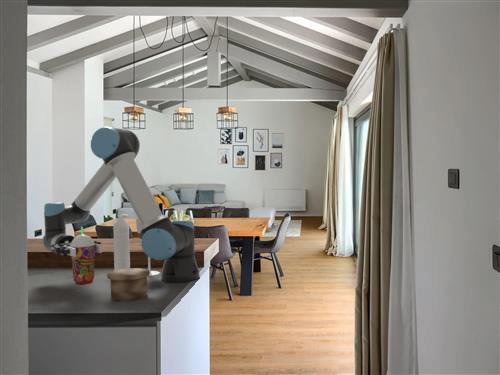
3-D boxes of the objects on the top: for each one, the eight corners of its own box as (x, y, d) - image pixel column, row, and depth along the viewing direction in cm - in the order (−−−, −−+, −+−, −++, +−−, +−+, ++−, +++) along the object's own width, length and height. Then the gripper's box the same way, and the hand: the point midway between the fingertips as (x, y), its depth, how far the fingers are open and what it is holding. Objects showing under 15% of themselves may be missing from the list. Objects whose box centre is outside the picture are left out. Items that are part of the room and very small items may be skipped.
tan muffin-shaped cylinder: (146, 288, 163) (146, 266, 162) (153, 298, 150) (152, 274, 149) (106, 293, 157) (105, 270, 157) (109, 303, 144) (108, 279, 144)
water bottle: (112, 272, 190) (110, 214, 189) (126, 270, 194) (124, 213, 193) (120, 276, 183) (118, 215, 182) (135, 273, 187) (133, 214, 186)
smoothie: (81, 287, 152) (79, 228, 151) (66, 284, 156) (63, 227, 156) (101, 281, 159) (99, 225, 158) (86, 279, 163) (84, 224, 163)
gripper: (92, 250, 178) (117, 257, 161) (35, 258, 164) (56, 266, 147) (91, 231, 178) (116, 236, 161) (34, 237, 163) (55, 243, 147)
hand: (88, 250), depth 154 cm, fingers closed on smoothie, 8 cm apart
